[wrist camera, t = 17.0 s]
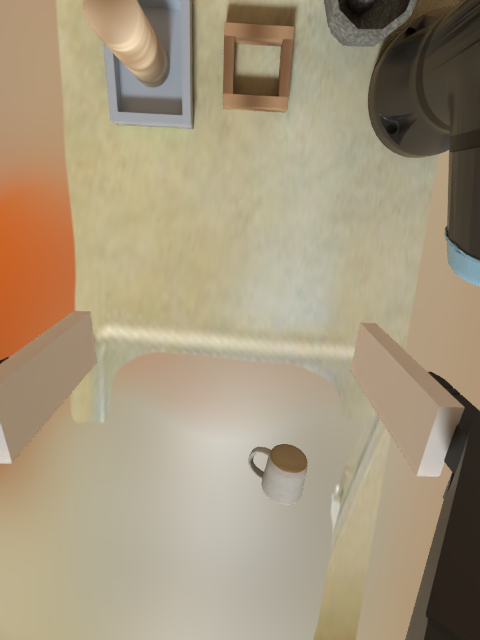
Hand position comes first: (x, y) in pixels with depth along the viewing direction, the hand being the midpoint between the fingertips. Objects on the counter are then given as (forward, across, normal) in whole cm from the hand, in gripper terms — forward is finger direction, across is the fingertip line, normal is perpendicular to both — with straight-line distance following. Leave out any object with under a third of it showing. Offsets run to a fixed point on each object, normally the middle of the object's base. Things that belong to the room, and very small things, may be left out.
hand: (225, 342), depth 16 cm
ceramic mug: (+35, +10, -42) cm, 55 cm away
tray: (+35, -11, +21) cm, 42 cm away
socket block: (+35, +2, +21) cm, 41 cm away
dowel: (+34, -11, +21) cm, 41 cm away
